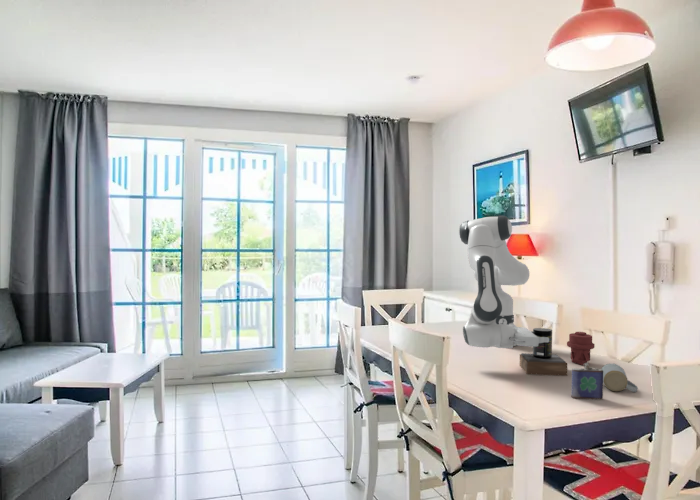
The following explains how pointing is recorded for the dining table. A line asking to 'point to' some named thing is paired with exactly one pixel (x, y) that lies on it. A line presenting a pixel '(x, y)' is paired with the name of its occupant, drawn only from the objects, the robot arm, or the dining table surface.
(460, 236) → the robot arm
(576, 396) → the flask
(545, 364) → the walnut stand
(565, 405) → the dining table surface
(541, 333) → the supplement container
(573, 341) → the mechanical component
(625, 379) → the ceramic mug
